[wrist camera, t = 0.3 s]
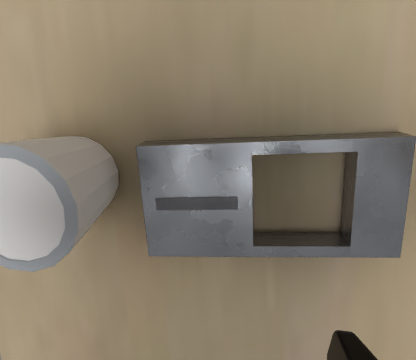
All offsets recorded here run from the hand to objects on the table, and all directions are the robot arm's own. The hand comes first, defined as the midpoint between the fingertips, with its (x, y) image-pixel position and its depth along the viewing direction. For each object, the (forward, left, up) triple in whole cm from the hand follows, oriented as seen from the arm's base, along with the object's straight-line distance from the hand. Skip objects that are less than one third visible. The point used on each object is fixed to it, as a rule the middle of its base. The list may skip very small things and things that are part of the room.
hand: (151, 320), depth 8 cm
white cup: (0, +9, -14) cm, 17 cm away
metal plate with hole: (-1, -4, -14) cm, 14 cm away
